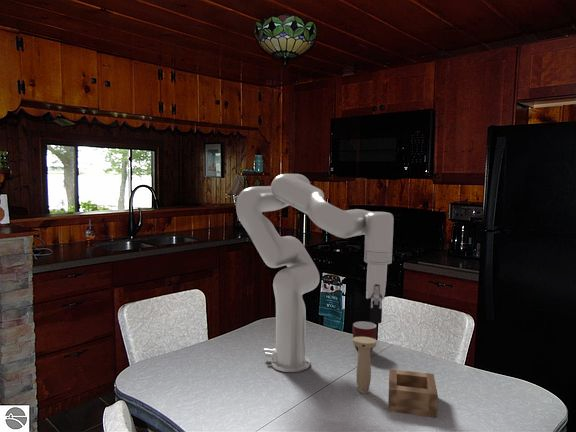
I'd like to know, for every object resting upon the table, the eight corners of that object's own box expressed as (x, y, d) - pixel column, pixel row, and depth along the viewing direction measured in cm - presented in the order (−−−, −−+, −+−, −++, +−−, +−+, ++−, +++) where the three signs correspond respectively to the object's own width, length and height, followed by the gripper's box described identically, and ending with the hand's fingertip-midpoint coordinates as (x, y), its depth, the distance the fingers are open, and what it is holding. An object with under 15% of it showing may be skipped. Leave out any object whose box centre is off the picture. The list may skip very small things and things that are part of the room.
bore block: (388, 411, 114) (388, 388, 113) (388, 389, 125) (389, 369, 125) (436, 417, 111) (437, 394, 110) (432, 394, 123) (433, 374, 122)
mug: (348, 346, 157) (349, 318, 156) (371, 346, 157) (372, 318, 156) (354, 358, 146) (355, 329, 145) (378, 358, 147) (379, 329, 146)
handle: (374, 397, 121) (375, 344, 119) (350, 393, 123) (351, 341, 121) (375, 388, 126) (376, 338, 124) (353, 385, 127) (354, 335, 126)
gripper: (365, 250, 131) (363, 306, 132) (363, 261, 114) (360, 326, 115) (391, 251, 129) (388, 308, 131) (392, 263, 112) (389, 328, 114)
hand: (375, 316), depth 123 cm, fingers open, 9 cm apart
